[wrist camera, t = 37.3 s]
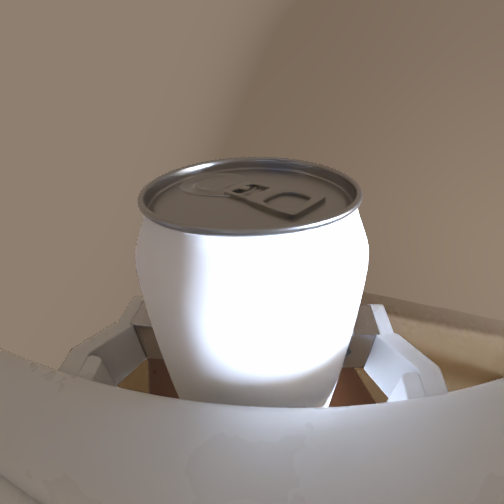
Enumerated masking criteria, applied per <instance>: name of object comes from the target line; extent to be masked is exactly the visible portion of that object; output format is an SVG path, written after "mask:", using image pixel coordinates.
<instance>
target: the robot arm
mask: <svg viewBox="0 0 504 504" xmlns="http://www.w3.org/2000/svg"><path fill="white" fill-rule="evenodd" d="M147 358H154V359H163V356H162V354H161V351H160V348H159V345H158V342H157V339H156V337H155V334H154V331H153V328H152V325H151V322H150V319H149V315H148V312H147V309H146V306H145V302H144V299H143V297H140V296H135V297H133V298H132V300H131V302H130V303H129V305H128V307H127V309H126V310H125V312H124V314H123V315H122V317H121V318H120V320H119V322H118V323H113V324H112V325H110V326H108V327H107V328H105V329H103V330H102V331H100V332H98V333H97V334H95V335H93V336H92V337H90V338H89V339H87V340H85V341H84V342H82V343H80V344H79V345H77V346H76V347H74V348H72V349H71V350H70V352H69V354H68V355H67V357H66V359H65V360H64V362H63V364H62V365H61V367H60V369H59V370H55V369H52V368H49V367H46V366H44V365H41V364H38V363H35V362H33V361H30V360H28V359H25V358H22V357H20V356H17V355H15V354H13V353H10V352H8V351H6V350H3V349H1V348H0V504H504V378H501V379H498V380H495V381H491V382H488V383H484V384H480V385H477V386H473V387H469V388H465V389H461V390H456V391H452V392H448V389H447V386H446V383H445V380H444V378H443V375H442V372H441V370H440V367H439V366H437V365H436V364H435V363H434V362H432V361H431V360H430V359H429V358H427V357H426V356H425V355H424V354H422V353H421V352H420V351H419V350H417V349H416V348H415V347H414V346H412V345H411V344H410V343H409V342H407V341H406V340H405V339H403V338H402V337H401V336H400V335H398V334H394V333H393V330H392V327H391V324H390V322H389V319H388V316H387V314H386V311H385V309H384V306H383V305H382V304H369V305H359V309H358V313H357V317H356V321H355V324H354V328H353V332H352V335H351V339H350V342H349V346H348V349H347V352H346V356H345V359H344V362H343V365H342V368H364V370H365V371H366V372H367V373H368V374H369V376H370V377H371V378H372V379H373V380H374V381H375V383H376V384H377V385H378V386H379V387H380V389H381V390H382V391H383V392H384V393H385V394H386V396H387V397H388V398H389V399H388V400H387V402H386V403H377V404H367V405H355V406H340V407H313V408H280V407H254V406H238V405H226V404H215V403H206V402H198V401H190V400H183V399H176V398H170V397H164V396H158V395H153V394H148V393H143V392H138V391H133V390H128V389H124V388H119V387H118V386H117V385H118V384H119V383H120V382H121V381H122V380H123V379H124V378H126V377H127V376H128V375H129V374H130V373H131V372H132V371H134V370H135V369H136V368H137V367H138V366H139V365H140V364H141V363H143V362H144V361H145V360H146V359H147ZM163 360H164V359H163Z"/></svg>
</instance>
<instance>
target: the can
mask: <svg viewBox="0 0 504 504" xmlns="http://www.w3.org/2000/svg"><path fill="white" fill-rule="evenodd" d="M361 201H362V190H361V188H360V186H359V184H358V183H357V182H356V181H354V179H352V178H351V177H349V176H348V175H346V174H344V173H342V172H340V171H338V170H336V169H333V168H330V167H327V166H324V165H321V164H317V163H313V162H307V161H302V160H296V159H288V158H275V157H240V158H228V159H219V160H212V161H206V162H201V163H197V164H193V165H189V166H185V167H182V168H179V169H176V170H173V171H170V172H168V173H166V174H163V175H161V176H159V177H158V178H156V179H154V180H153V181H151V182H150V183H148V184H147V185H146V186H145V187H144V188H143V189H142V190H141V192H140V193H139V196H138V207H139V209H140V211H141V212H142V214H143V220H142V224H141V228H140V231H139V235H138V239H137V243H136V249H135V264H136V272H137V276H138V280H139V284H140V288H141V292H142V295H143V299H144V302H145V306H146V309H147V312H148V315H149V319H150V322H151V325H152V328H153V331H154V334H155V337H156V339H157V342H158V345H159V348H160V351H161V354H162V356H163V359H164V362H165V364H166V367H167V369H168V372H169V375H170V377H171V380H172V382H173V384H174V387H175V389H176V392H177V394H178V396H179V399H183V400H190V401H198V402H206V403H215V404H226V405H238V406H254V407H280V408H313V407H328V406H329V403H330V400H331V397H332V395H333V392H334V389H335V386H336V383H337V380H338V377H339V374H340V371H341V368H342V365H343V362H344V359H345V356H346V352H347V349H348V346H349V342H350V339H351V335H352V332H353V328H354V324H355V321H356V317H357V313H358V309H359V305H360V301H361V297H362V292H363V288H364V283H365V278H366V273H367V267H368V257H369V248H368V243H367V238H366V234H365V231H364V228H363V225H362V222H361V219H360V216H359V213H358V207H359V205H360V204H361Z"/></svg>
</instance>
